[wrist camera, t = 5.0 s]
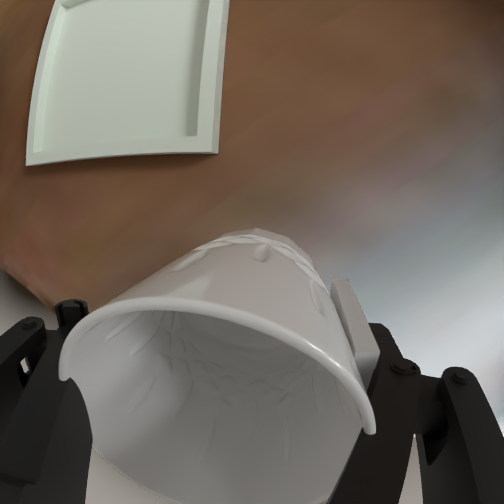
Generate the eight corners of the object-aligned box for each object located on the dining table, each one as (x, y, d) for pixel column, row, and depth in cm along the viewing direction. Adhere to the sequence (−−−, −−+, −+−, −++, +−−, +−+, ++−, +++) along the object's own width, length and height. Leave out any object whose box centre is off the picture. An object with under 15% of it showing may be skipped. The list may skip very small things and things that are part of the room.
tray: (233, -37, 15) (230, -49, 13) (218, 153, 19) (211, 151, 18) (65, 5, 17) (55, -1, 15) (39, 165, 21) (25, 165, 19)
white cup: (241, 377, 17) (197, 525, 7) (153, 273, 16) (23, 376, 6) (360, 310, 15) (419, 468, 5) (271, 182, 14) (220, 200, 4)
